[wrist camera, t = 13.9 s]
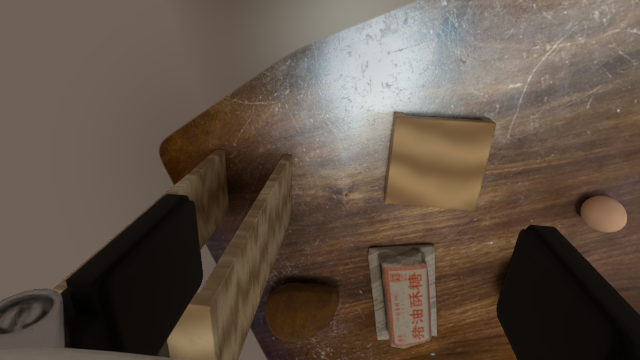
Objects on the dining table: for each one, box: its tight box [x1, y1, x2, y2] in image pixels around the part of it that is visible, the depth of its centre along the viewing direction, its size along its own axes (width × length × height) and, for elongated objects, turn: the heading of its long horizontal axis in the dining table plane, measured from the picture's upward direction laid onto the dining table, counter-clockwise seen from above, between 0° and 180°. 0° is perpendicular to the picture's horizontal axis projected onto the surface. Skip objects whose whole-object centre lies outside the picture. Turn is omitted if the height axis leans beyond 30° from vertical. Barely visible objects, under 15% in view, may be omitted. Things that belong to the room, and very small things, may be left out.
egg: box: [581, 196, 627, 232], centre depth 46 cm, size 4×4×6 cm
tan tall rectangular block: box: [53, 149, 292, 360], centre depth 39 cm, size 10×11×30 cm
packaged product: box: [368, 244, 437, 348], centre depth 55 cm, size 18×5×10 cm
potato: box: [265, 282, 339, 342], centre depth 56 cm, size 8×12×9 cm
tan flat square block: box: [384, 112, 496, 211], centre depth 47 cm, size 12×12×3 cm
